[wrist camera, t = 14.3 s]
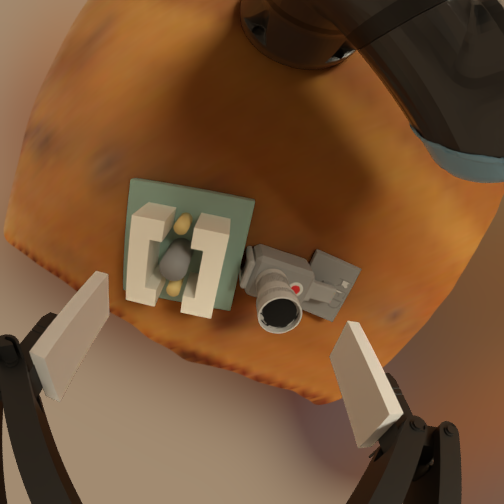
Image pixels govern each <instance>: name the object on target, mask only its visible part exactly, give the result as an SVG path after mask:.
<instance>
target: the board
mask: <svg viewBox="0 0 504 504" xmlns="http://www.w3.org/2000/svg"><path fill="white" fill-rule="evenodd" d="M148 202H151V203H156V204H162V205H167V206H172V207H176V213H175V219H174V225H173V227H172V228H171V229H170V231H169V232H168V234H167V235H166V237H165V238H164V240H163V241H162V242H160V250H159V258H158V265H159V269H160V272H161V274H162V276H163V277H165V278H166V282H165V284H164V287H163V289H162V291H161V293H160V296H159V298H163V299H168V300H173V301H178V302H182V298H183V294H184V290H185V287H186V284H187V281H188V278H189V274H190V272H193V273H198V274H199V271H200V265H201V260H202V255H203V251H201V250H196V249H191V243H192V237H193V232H194V227H195V225H196V223H197V221H198V218H199V216H200V214H201V213H206V214H211V215H215V216H220V217H225V218H229V219H231V220H230V235H229V239H228V244H227V248H226V253H225V257H224V261H223V266H222V270H221V275H220V279H219V284H218V289H217V293H216V298H215V302H214V307H213V308H216V309H222V310H227V311H230V310H231V306H232V301H233V297H234V292H235V288H236V283H237V279H238V275H239V270H240V266H241V261H242V257H243V253H244V248H245V244H246V239H247V235H248V231H249V226H250V222H251V218H252V213H253V209H254V205H255V199H251V198H246V197H241V196H236V195H231V194H226V193H221V192H216V191H211V190H205V189H200V188H194V187H189V186H183V185H177V184H171V183H165V182H159V181H153V180H147V179H140V178H133V179H131V180H130V189H129V197H128V207H127V218H126V230H125V245H124V268H123V290H126V281H127V263H128V249H129V238H130V227H131V218H132V214H134V213H135V212H136V211H137V210H139V209H140V208H141V207H143V206H144V205H145V204H147V203H148Z"/></svg>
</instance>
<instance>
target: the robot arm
mask: <svg viewBox="0 0 504 504" xmlns="http://www.w3.org/2000/svg"><path fill="white" fill-rule="evenodd" d="M240 19H241V24H242V28H243V30H244V32H245V34H246V36H247V37H248V39H249V40H250V42H251V43H252V44H253V45H254V46H255V47H256V48H257V49H258V50H259V51H260V52H262V53H263V54H264V55H266V56H267V57H269V58H270V59H272V60H274V61H276V62H278V63H281V64H283V65H286V66H290V67H294V68H299V69H308V70H314V69H323V68H328V67H331V66H334V65H336V64H338V63H340V62H342V61H343V60H345V59H346V58H348V57H349V56H351V55H352V54H353V53H354V52H355V51H356V50H358V52H359V53H360V54H361V55H362V57H363V58H364V59H365V60H366V62H367V63H368V64H369V65H370V67H371V68H372V69H373V70H374V72H375V73H376V74H377V76H378V77H379V78H380V80H381V81H382V82H383V84H384V85H385V87H386V88H387V89H388V91H389V92H390V94H391V95H392V96H393V98H394V99H395V101H396V102H397V104H398V105H399V107H400V108H401V110H402V111H403V113H404V115H405V116H406V118H407V119H408V121H409V123H410V127H411V129H412V131H413V132H414V133H415V135H416V136H417V137H418V138H420V139H421V140H422V142H423V144H424V145H425V147H426V148H427V150H428V152H429V153H430V155H431V157H432V158H433V160H434V161H435V162H436V163H437V164H438V165H439V166H440V167H441V168H443V169H445V170H447V171H448V172H449V173H450V174H452V175H453V176H455V177H458V178H461V179H464V180H467V181H472V182H479V183H498V182H504V0H241V7H240ZM359 49H360V50H359ZM108 317H109V286H108V274H106V273H102V272H99V271H95V272H94V274H93V275H92V276H91V277H90V278H89V279H88V280H87V281H86V282H85V284H84V285H83V286H82V287H81V288H80V289H79V290H78V292H77V293H76V294H75V295H74V296H73V297H72V299H71V300H70V301H69V302H68V303H67V304H66V306H65V307H64V308H63V309H62V311H61V312H60V313H59V314H58V315H57V314H54V313H51V312H50V313H48V314H47V315H45V316H43V317H42V318H41V319H40V320H39V321H38V322H37V324H36V325H35V326H34V327H33V329H32V331H30V332H29V334H28V335H27V336H26V337H25V338H24V340H23V341H22V342H21V343H20V344H19V341H18V339H17V338H16V337H15V336H12V335H2V336H0V504H7V499H6V492H5V483H4V472H3V458H2V457H3V455H2V420H3V408H4V413H5V418H6V423H7V428H8V432H9V437H10V441H11V445H12V448H13V452H14V455H15V459H16V462H17V465H18V469H19V472H20V475H21V477H22V480H23V483H24V486H25V489H26V491H27V494H28V496H29V499H30V501H31V504H82V502H81V500H80V498H79V496H78V494H77V492H76V490H75V488H74V486H73V484H72V482H71V480H70V478H69V475H68V473H67V471H66V469H65V467H64V464H63V462H62V459H61V457H60V455H59V452H58V450H57V447H56V444H55V442H54V439H53V436H52V433H51V430H50V427H49V424H48V421H47V418H46V415H45V412H44V408H43V405H42V401H41V397H40V396H39V394H40V392H41V390H42V388H43V390H44V392H45V395H46V396H47V397H49V398H52V399H54V400H56V401H58V402H61V400H62V398H63V396H64V394H65V392H66V390H67V388H68V387H69V384H70V383H71V381H72V379H73V377H74V375H75V373H76V372H77V370H78V368H79V366H80V365H81V363H82V361H83V359H84V357H85V356H86V354H87V352H88V350H89V349H90V347H91V345H92V344H93V342H94V340H95V339H96V337H97V335H98V334H99V332H100V330H101V329H102V327H103V325H104V324H105V322H106V320H107V319H108ZM329 357H330V360H331V363H332V366H333V369H334V372H335V375H336V378H337V381H338V384H339V387H340V391H341V394H342V397H343V400H344V403H345V406H346V410H347V412H348V416H349V419H350V422H351V426H352V429H353V433H354V436H355V439H356V443H357V446H358V448H365V447H372V446H373V445H374V444H375V443H376V441H379V444H380V446H379V447H378V448H377V449H376V450H375V451H374V452H373V453H372V454H371V455H370V456H369V458H371V457H372V456H373V455H374V456H373V458H372V460H371V461H370V463H369V465H368V467H367V469H366V471H365V473H364V475H363V476H362V478H361V480H360V481H359V483H358V485H357V487H356V488H355V490H354V492H353V493H352V495H351V497H350V498H349V500H348V501H347V503H346V504H402V503H403V504H461V457H460V456H461V455H460V441H459V433H458V429H457V428H456V426H455V425H454V424H453V423H451V422H448V421H445V422H442V423H441V424H440V425H439V426H438V427H432V426H427V425H426V423H425V422H424V420H422V419H421V418H420V417H417V416H413V415H412V413H411V410H410V408H409V406H408V404H407V402H406V400H405V398H404V396H403V395H402V392H401V390H400V389H399V386H398V384H397V382H396V380H395V379H394V378H393V377H392V376H391V375H390V374H389V373H384V371H383V369H382V367H381V365H380V363H379V361H378V359H377V357H376V355H375V353H374V351H373V349H372V347H371V345H370V343H369V341H368V339H367V337H366V335H365V333H364V331H363V329H362V327H361V325H360V324H359V322H352V321H347V323H346V325H345V327H344V329H343V331H342V333H341V335H340V337H339V339H338V341H337V343H336V345H335V347H334V349H333V351H332V352H331V354H330V356H329ZM433 460H434V462H433Z"/></svg>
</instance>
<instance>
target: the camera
mask: <svg viewBox="0 0 504 504" xmlns="http://www.w3.org/2000/svg"><path fill="white" fill-rule="evenodd" d="M246 256H247V259H246V261H245V264H244V266H243V268H241V266H240V270H239V282H240V287H241V288H244V290H245V292H246V294H248V295H250V296H253V297H257V300H256V308H257V315H258V321H259V324H260V325H261V327H262V328H263V329H265V330H266V331H268V332H271V333H278V334H279V333H285V332H288V331H290V330H292V329H293V328H295V327H296V326H297V325H298V323H299V322H300V320H301V318H302V310H304V311H307V312H309V313H312V314H314V315H317V316H319V317H322V318H324V319H327V320H329V321H332V322H333V320H334V318H335V317H336V315H337V313H338V312H339V310H340V308H341V306H342V305H343V303H344V301H345V299H346V297H347V296H348V294H349V292H350V290H351V288H352V287H353V285H354V283H355V281H356V279H357V277H358V275H359V273H360V272H361V270H362V269H361V268H359V267H357V266H354V265H352V264H350V263H348V262H345V261H343V260H341V259H339V258H336V257H334V256H332V255H330V254H327V253H325V252H323V251H321V250H318V249H316V251H315V253H314V255H313V257H312V259H311V261H310V264H308V262H307V260H306V259H304V258H301V257H298V256H295V255H292V254H289V253H286V252H283V251H280V250H277V249H274V248H271V247H268V246H265V245H263V244H258V245H256V246H254V248H252V246H247V249H246Z"/></svg>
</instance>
